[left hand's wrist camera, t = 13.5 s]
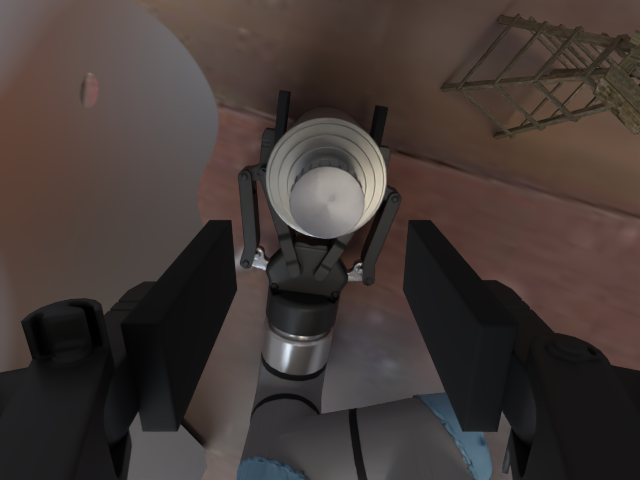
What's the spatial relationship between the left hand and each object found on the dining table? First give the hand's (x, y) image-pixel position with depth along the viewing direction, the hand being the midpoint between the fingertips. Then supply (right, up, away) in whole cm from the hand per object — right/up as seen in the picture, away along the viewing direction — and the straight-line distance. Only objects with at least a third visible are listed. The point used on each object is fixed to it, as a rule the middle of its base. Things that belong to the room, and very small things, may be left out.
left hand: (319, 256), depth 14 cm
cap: (0, +3, +6) cm, 7 cm away
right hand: (+1, +13, +21) cm, 24 cm away
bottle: (+1, +11, +28) cm, 30 cm away
